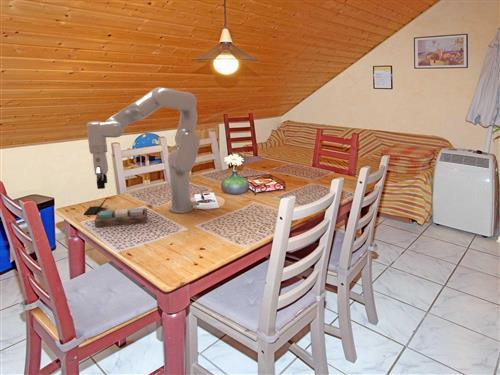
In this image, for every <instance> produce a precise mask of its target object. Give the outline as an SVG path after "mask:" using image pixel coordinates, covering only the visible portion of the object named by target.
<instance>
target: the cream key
mask: <svg viewBox="0 0 500 375" xmlns="http://www.w3.org/2000/svg"><path fill="white" fill-rule="evenodd" d="M128 210H129V209H128V208H125V209H123V208H122V209H115V210H114V211H115V218H116V217H126V216H127V217H128Z"/></svg>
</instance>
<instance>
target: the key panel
mask: <svg viewBox="0 0 500 375" xmlns="http://www.w3.org/2000/svg"><path fill="white" fill-rule="evenodd" d="M147 210H148V209H147V208H143V215H141V216H130V211H131V209H128V217H127V216H126V217H116V218H115V211H116V210H113V218H105V219H99V214H100V211H98V213H97V214H96V215H95V216H96V217H95V219H94V227H95V228H106V227H116V226H128V225H139V224H147V223H148V221H147V220H148V211H147Z"/></svg>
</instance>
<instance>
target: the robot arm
mask: <svg viewBox="0 0 500 375" xmlns="http://www.w3.org/2000/svg"><path fill="white" fill-rule="evenodd" d="M197 102H198V100H197V97H196V95H194V94H193V93H192V92H189V91H184V90H183V91H181V90H177V89H172V88H167V87H160V86H158V87H155V88H153V89H152V90H150V91H148V93H146V94H145V95H143V96H142V97H140V98H139V99H137V100H136V101H134V102H133V103H130V104H129V105H128V106H126V107H124V108H123V109H121V110H118V111H117V112H116V113H115V114H112V116H110V117H108V118H107V119H105V121H97V120H96V121H87V123H86V132H87V140H88V141H87V142H88V149H89V153H90V154H92V162H93V163H92V164H93V169H94V175H95V176H96V188H97V190H102V189H103V190H104V189H105V188H106V184H108V178H107V177H108V176H107V174H108V171H109V166H108V159H107V158H108V157H107V152H108V144H107V143H108V142H107V138H111V139H115V138H117V139H118V138H120V137H121V136H122V135H123V134H124V132H125V129H124V128H125V127H127V126H128V125H130V124H132V123H135V122H138V121H142V120H144V119H146V118H148V117H149V116H150V115H152V114H153V113H155V112H157V110H159V109H160V108H162V107H164V108H167V109H173V110H178V112H179V120H178V124H177V129H176V133H175V136H174V141H175V144H176V145H177V146H178V149H173V150H171V151H170V152H169V154H168V157H167V162H168V168H169V177H170V178H169V179H170V180H169V181H170V194H171V195H170V196H171V197H170V198H171V205H170V206H169V207H168V211H170V212H171V213H174V214H184V213H190V212H192V211H193V210H194V208H195V207H196V206H200V201H197V200H193V201H192V199H191V192H190V191H191V190H190V189H191V188H190V187H191V186H190V173H189V172H190V171H192V169H193V167H194V166H195V163H196V160H197V155H198V152H199V149H200V137H199V135H198V134H197V133H196V129H197V124H198V111H197V108H196V107H197ZM194 206H195V207H194Z"/></svg>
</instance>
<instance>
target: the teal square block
mask: <svg viewBox="0 0 500 375" xmlns="http://www.w3.org/2000/svg"><path fill="white" fill-rule="evenodd" d="M113 211H114V210H113V209H112V210H99V212H100V214H99V219H105V218H113Z"/></svg>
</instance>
